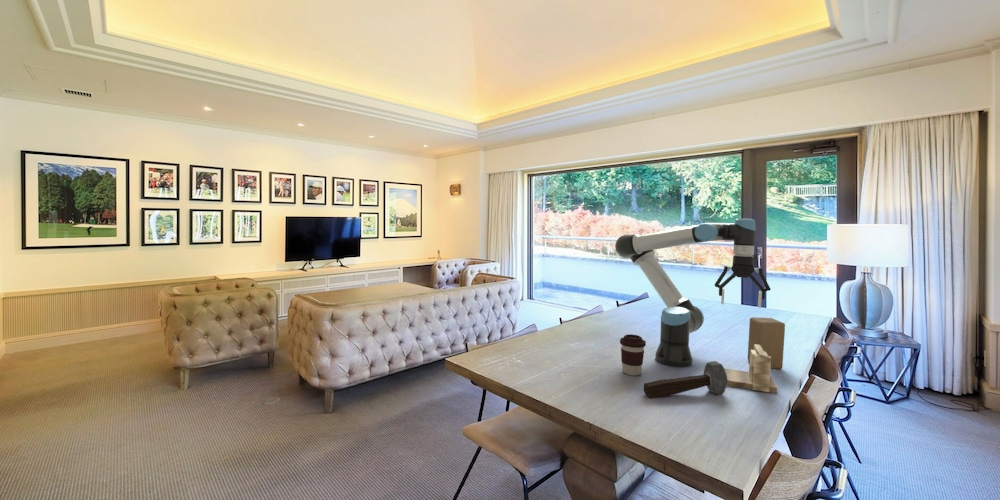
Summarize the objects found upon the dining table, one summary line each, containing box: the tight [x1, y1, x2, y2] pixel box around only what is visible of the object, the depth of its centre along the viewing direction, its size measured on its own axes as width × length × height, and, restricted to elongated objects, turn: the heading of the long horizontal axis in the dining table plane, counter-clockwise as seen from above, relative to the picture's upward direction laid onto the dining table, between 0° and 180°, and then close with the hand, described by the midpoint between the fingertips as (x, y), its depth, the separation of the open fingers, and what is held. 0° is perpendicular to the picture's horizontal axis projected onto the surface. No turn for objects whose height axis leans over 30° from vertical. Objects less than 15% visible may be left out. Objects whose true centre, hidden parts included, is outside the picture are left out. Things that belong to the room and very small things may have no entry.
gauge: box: [748, 344, 772, 393], centre depth 153 cm, size 5×14×13 cm, turn 155°
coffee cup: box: [619, 333, 647, 377], centre depth 164 cm, size 10×10×15 cm
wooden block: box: [747, 316, 786, 370], centre depth 175 cm, size 10×10×20 cm
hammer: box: [643, 360, 728, 399], centre depth 144 cm, size 5×11×30 cm
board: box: [724, 367, 778, 394], centre depth 156 cm, size 20×14×2 cm
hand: (740, 305), depth 171 cm, fingers open, 13 cm apart
